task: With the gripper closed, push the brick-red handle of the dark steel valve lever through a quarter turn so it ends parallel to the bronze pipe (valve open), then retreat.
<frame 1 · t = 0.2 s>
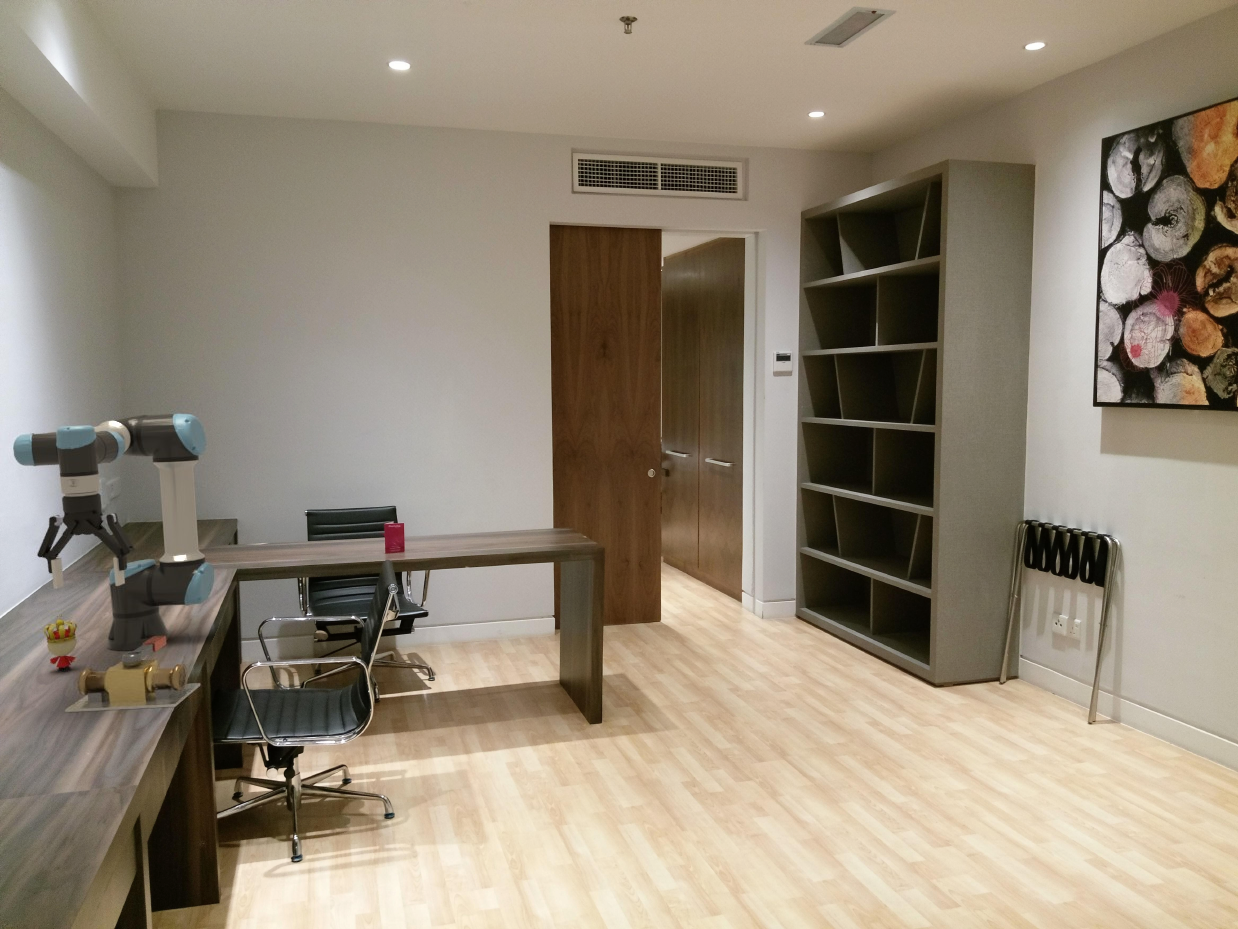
hand: (89, 585, 201), 27 cm above the table, fingers open, 13 cm apart
toy: (64, 671, 227), on the table
valve body: (135, 698, 205), on the table
lever: (144, 650, 210), point 9 cm above the table, hinge at 0.0°
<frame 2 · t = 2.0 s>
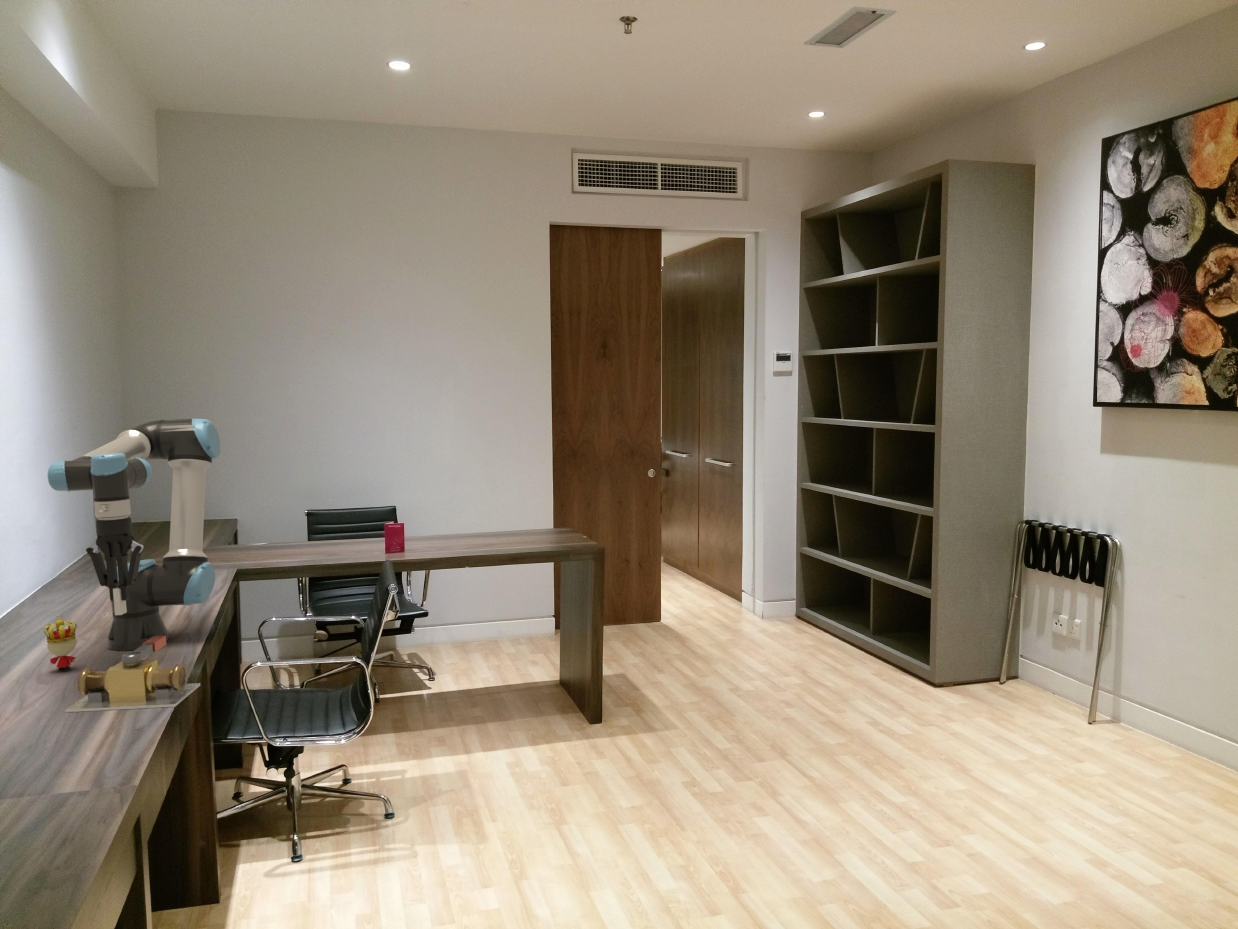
hand: (120, 613, 214), 18 cm above the table, fingers closed
nothing on the table moved.
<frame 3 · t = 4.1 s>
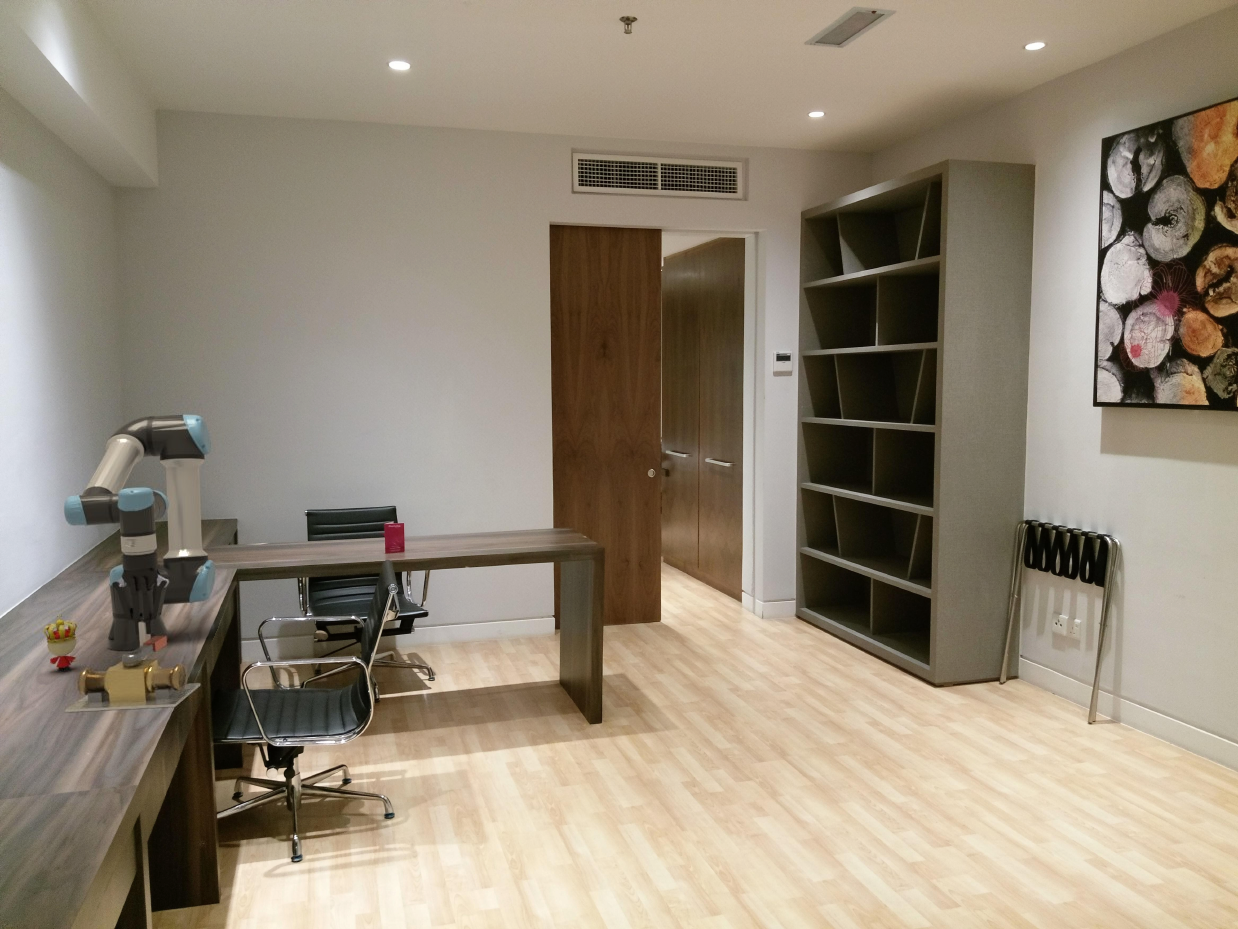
hand: (145, 647, 215), 9 cm above the table, fingers closed
lever: (144, 650, 210), point 9 cm above the table, hinge at -0.6°, touching gripper
everything else where it was.
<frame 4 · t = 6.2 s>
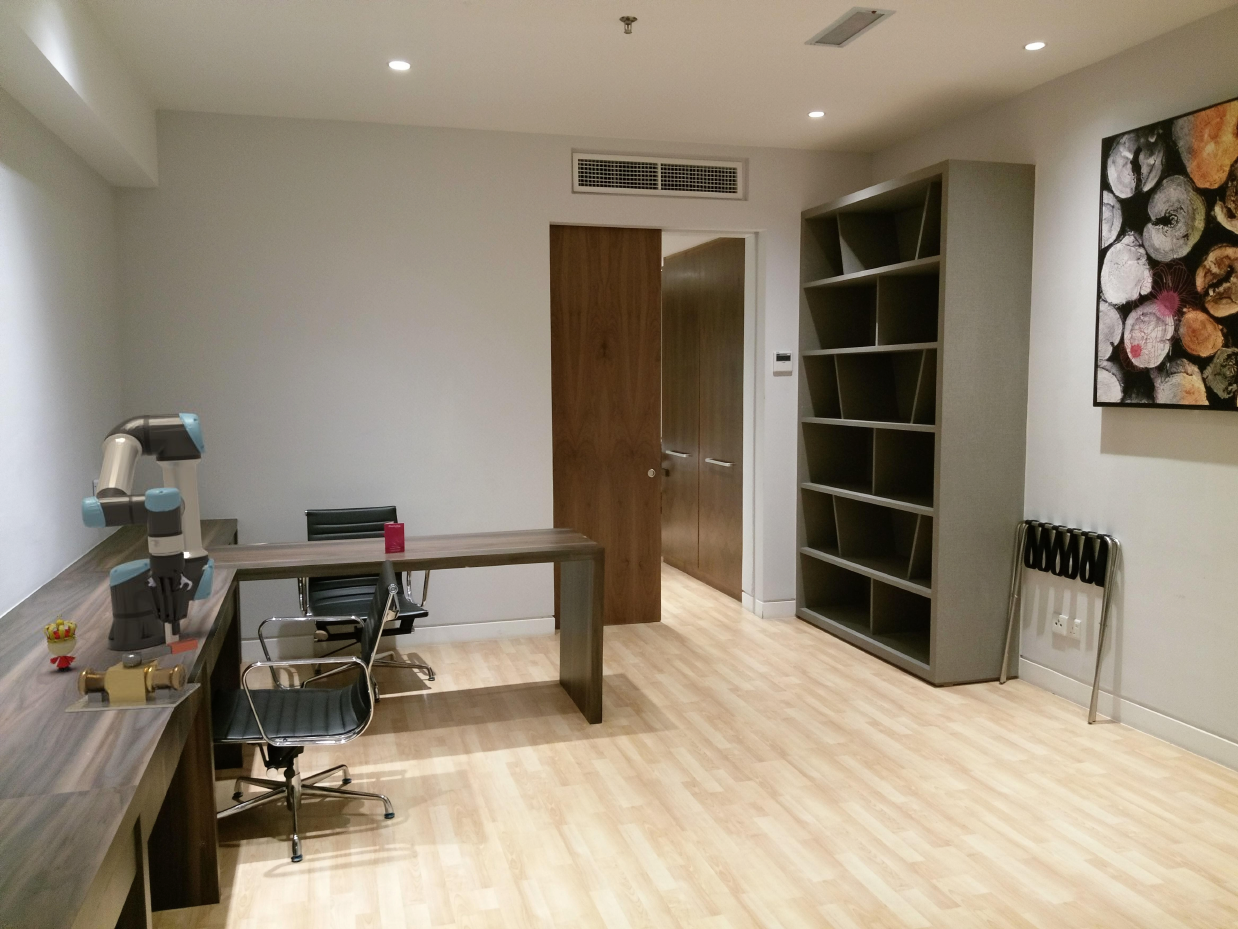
hand: (172, 647, 214), 9 cm above the table, fingers closed
lever: (159, 651, 209), point 9 cm above the table, hinge at -43.1°, touching gripper
everything else where it was.
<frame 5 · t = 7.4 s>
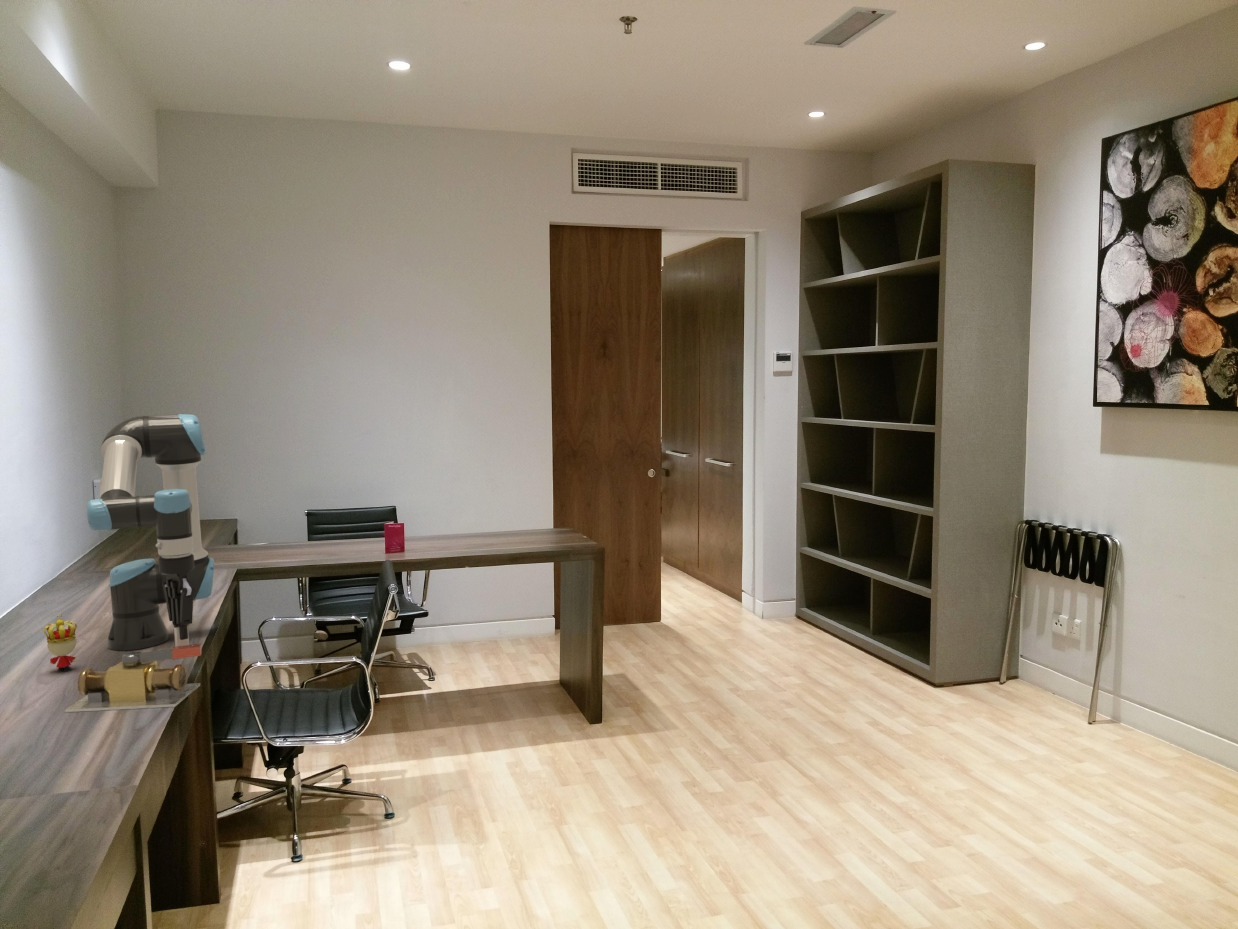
hand: (182, 651, 211), 9 cm above the table, fingers closed
lever: (162, 654, 207), point 9 cm above the table, hinge at -71.1°, touching gripper
everything else where it was.
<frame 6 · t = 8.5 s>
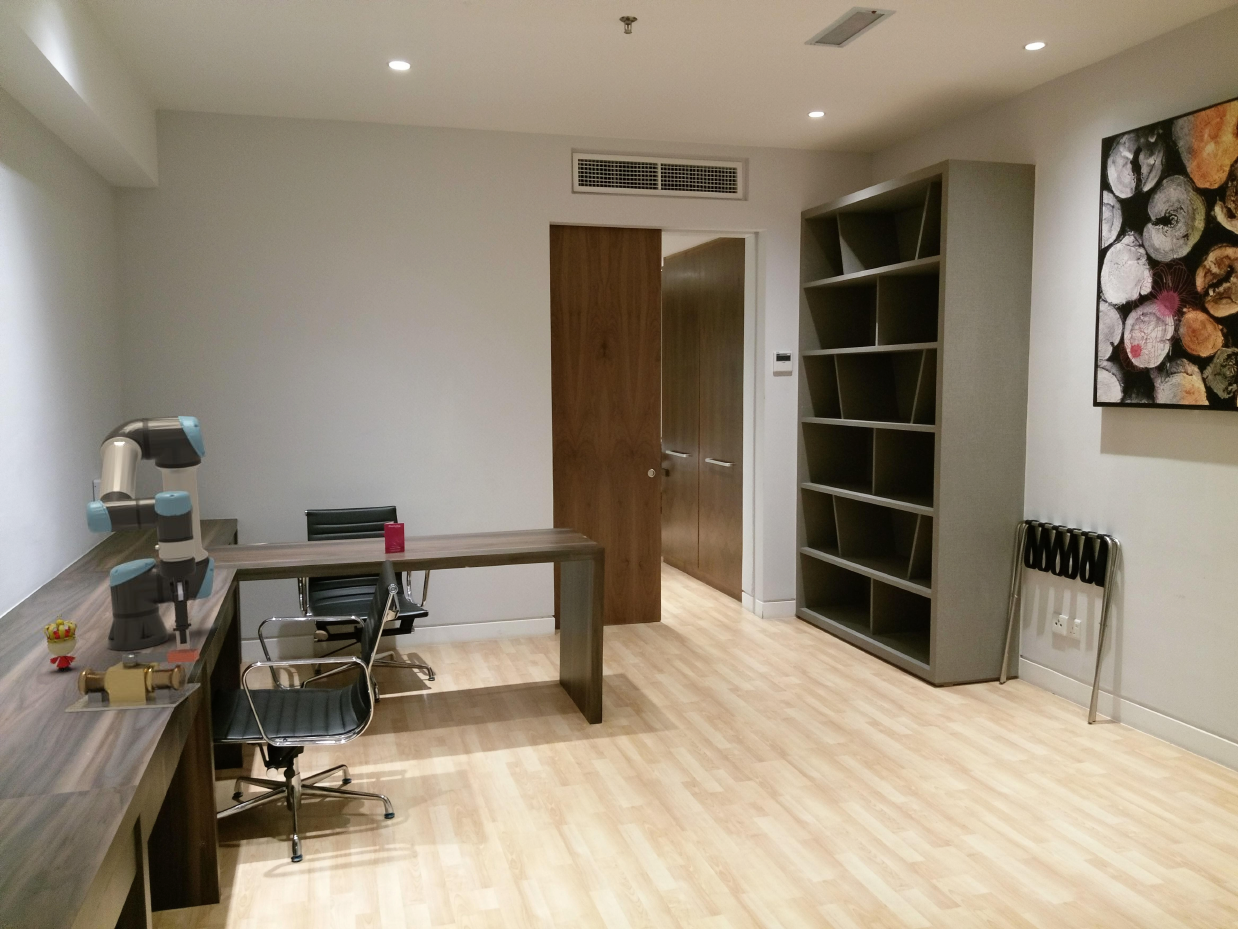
hand: (184, 655, 208), 9 cm above the table, fingers closed
lever: (160, 657, 205), point 9 cm above the table, hinge at -88.6°, touching gripper
everything else where it was.
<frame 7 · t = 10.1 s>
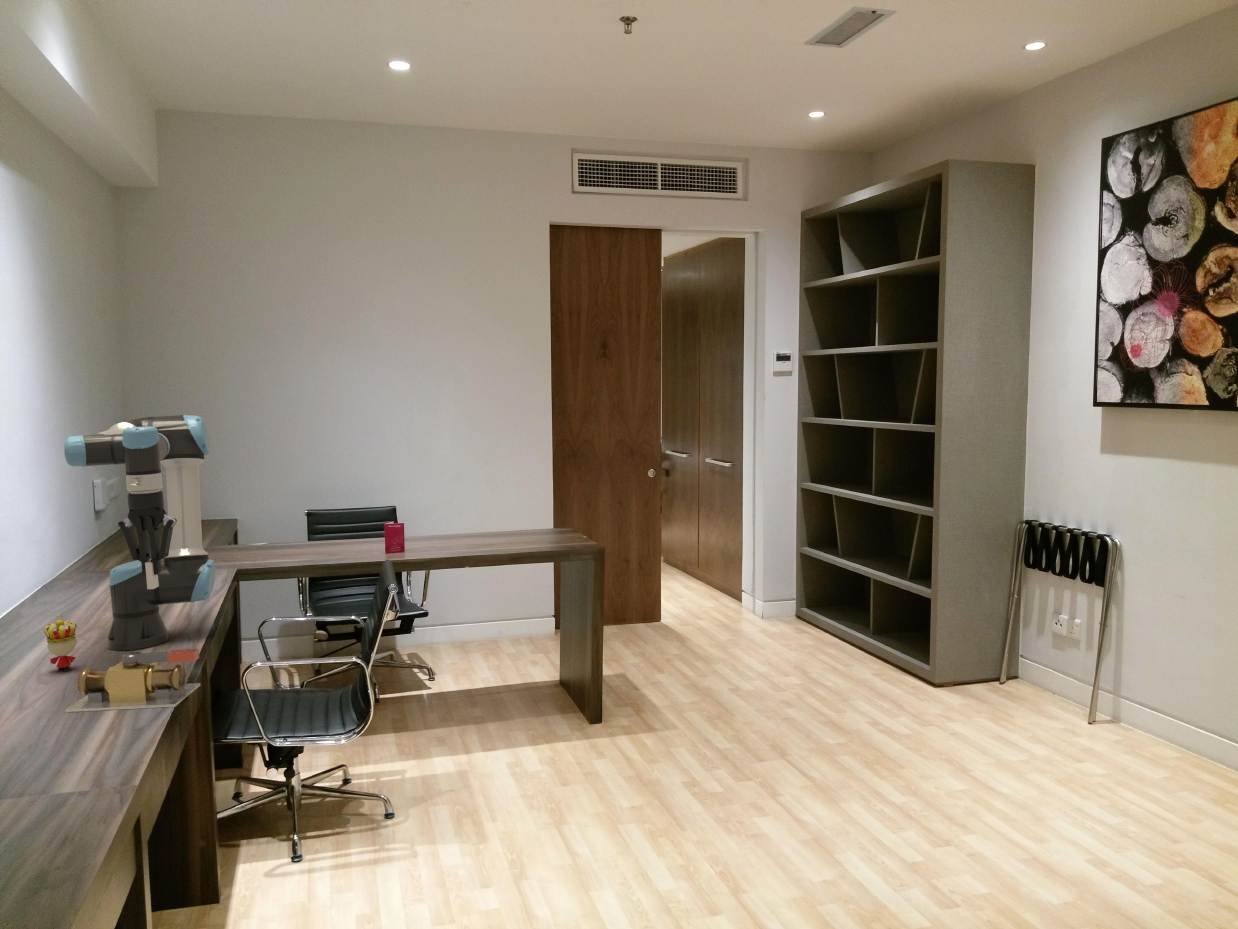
hand: (153, 587, 213), 24 cm above the table, fingers closed
lever: (159, 657, 205), point 9 cm above the table, hinge at -88.7°
everything else where it was.
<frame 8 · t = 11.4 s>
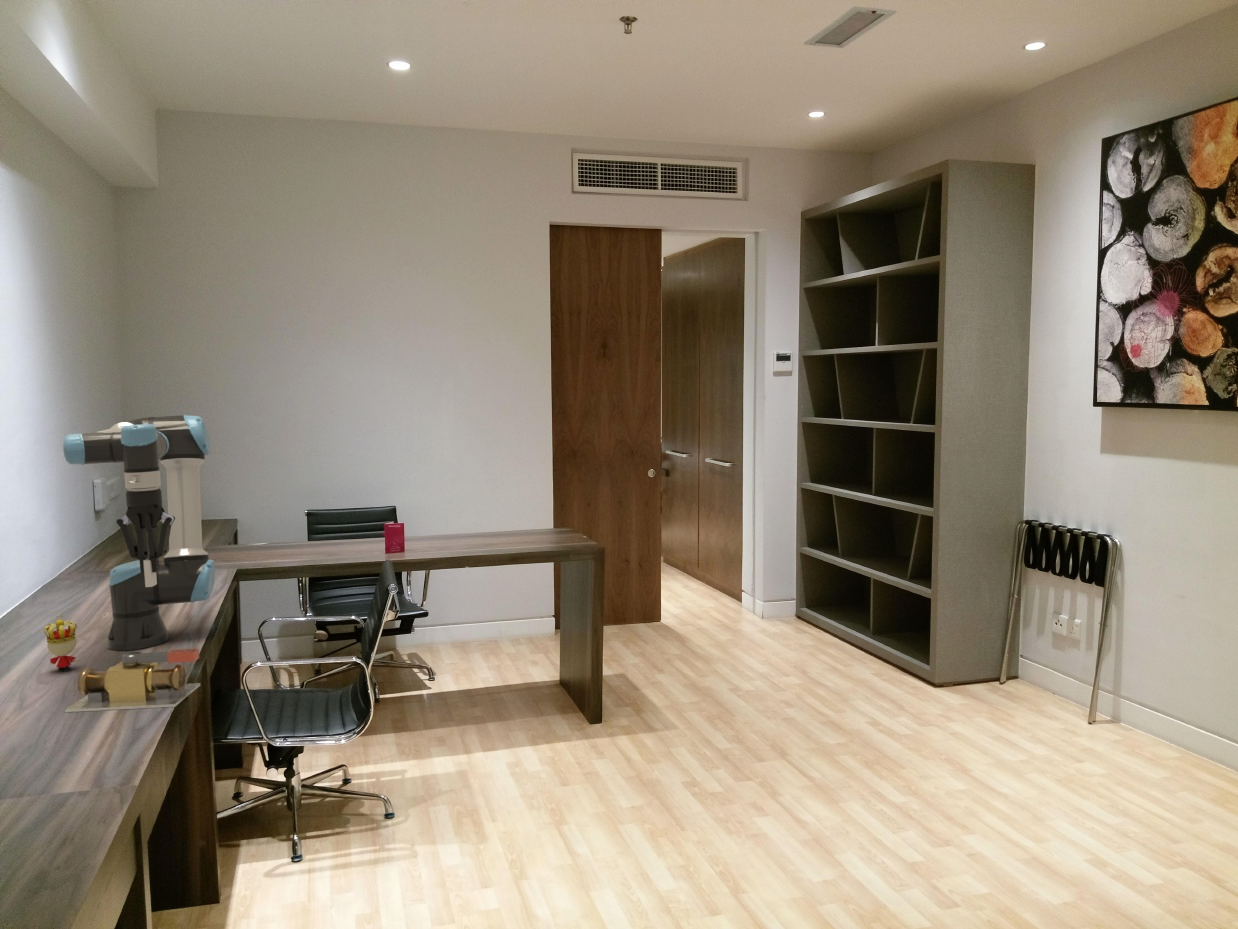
hand: (151, 585, 213), 24 cm above the table, fingers closed
nothing on the table moved.
at the end: lever at -89° (first picture: +0°); lever touching nothing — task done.
